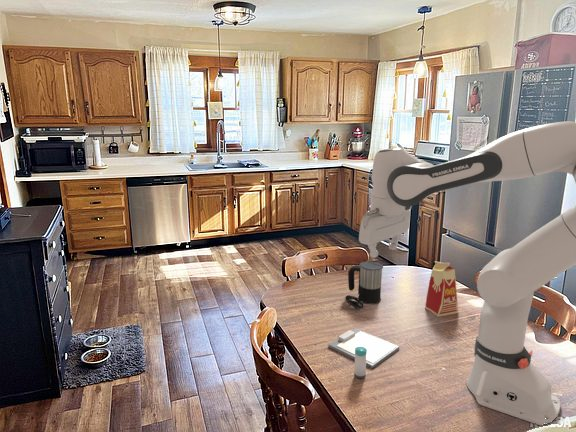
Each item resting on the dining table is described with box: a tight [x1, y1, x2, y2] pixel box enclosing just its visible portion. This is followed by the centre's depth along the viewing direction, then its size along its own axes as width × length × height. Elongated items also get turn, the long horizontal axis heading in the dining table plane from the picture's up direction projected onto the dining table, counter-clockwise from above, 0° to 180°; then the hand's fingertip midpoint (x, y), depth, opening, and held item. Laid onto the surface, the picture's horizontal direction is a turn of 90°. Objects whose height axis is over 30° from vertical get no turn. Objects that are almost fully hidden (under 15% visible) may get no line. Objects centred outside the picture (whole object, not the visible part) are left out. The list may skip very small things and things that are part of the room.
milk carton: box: [424, 260, 459, 318], centre depth 163 cm, size 9×9×20 cm
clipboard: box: [328, 327, 400, 369], centre depth 139 cm, size 17×15×2 cm
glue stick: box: [353, 347, 367, 380], centre depth 124 cm, size 3×3×8 cm
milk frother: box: [344, 260, 384, 310], centre depth 171 cm, size 14×16×15 cm
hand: (383, 252), depth 124 cm, fingers open, 8 cm apart
